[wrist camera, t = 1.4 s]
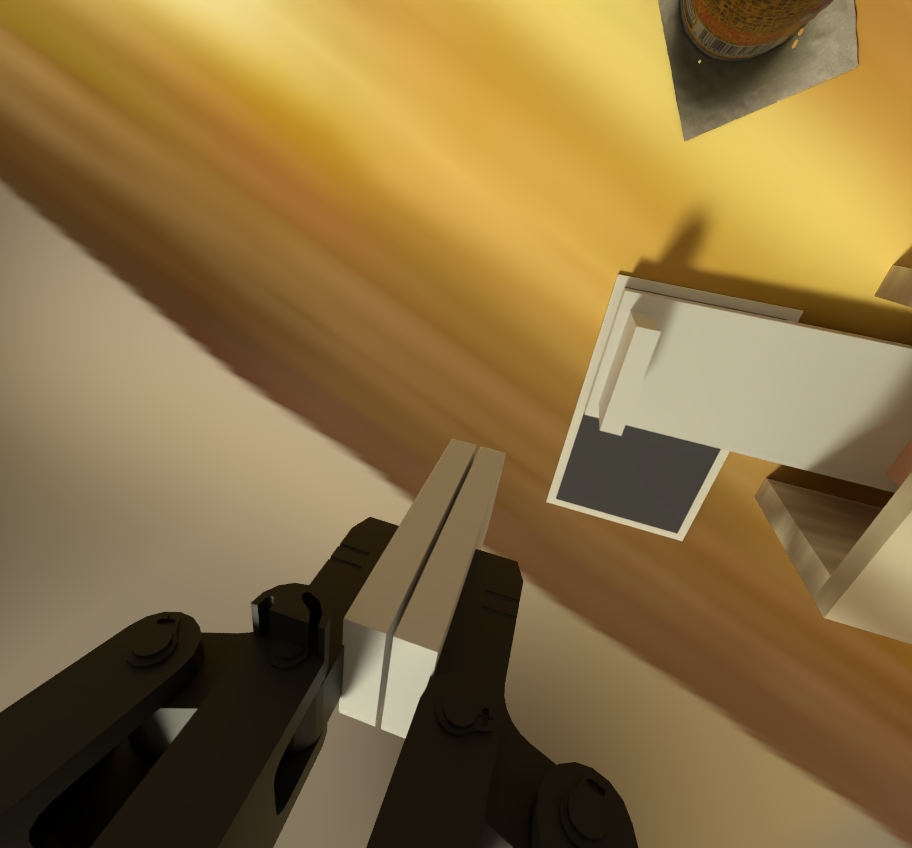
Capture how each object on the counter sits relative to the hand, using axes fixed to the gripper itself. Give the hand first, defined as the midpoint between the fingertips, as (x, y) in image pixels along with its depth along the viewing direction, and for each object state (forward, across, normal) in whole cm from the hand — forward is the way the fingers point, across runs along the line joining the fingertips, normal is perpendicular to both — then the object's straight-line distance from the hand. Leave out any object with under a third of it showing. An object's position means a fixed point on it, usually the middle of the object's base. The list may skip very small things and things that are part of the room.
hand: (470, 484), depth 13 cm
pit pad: (+18, +9, -4) cm, 21 cm away
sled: (+18, +17, 0) cm, 24 cm away
